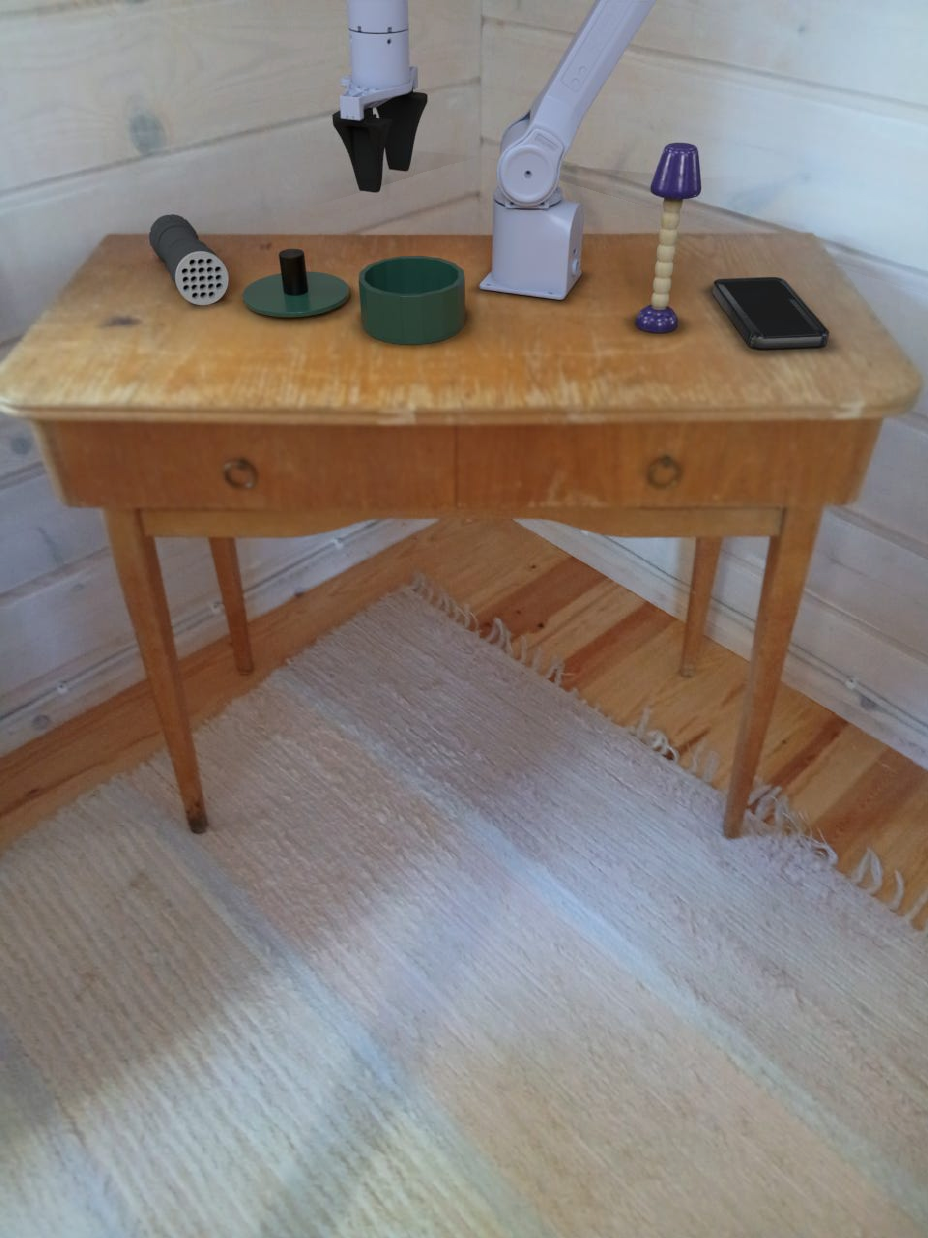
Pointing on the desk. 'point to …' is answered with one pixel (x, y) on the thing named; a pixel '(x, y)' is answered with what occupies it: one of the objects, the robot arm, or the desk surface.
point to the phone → (769, 313)
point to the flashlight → (188, 260)
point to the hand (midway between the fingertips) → (384, 179)
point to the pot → (412, 299)
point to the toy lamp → (669, 228)
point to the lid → (295, 290)
